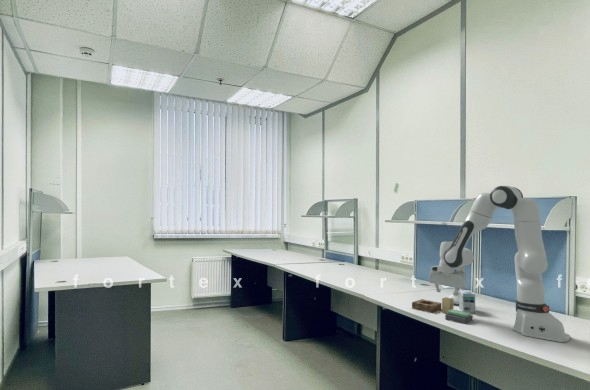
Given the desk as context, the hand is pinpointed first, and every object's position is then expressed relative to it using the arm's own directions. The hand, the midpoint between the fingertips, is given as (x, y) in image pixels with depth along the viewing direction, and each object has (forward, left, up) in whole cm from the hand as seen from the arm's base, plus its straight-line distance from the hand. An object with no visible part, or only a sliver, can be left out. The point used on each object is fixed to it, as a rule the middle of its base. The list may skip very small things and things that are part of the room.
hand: (446, 293), depth 210 cm
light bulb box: (-6, -14, -11) cm, 19 cm away
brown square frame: (+11, +1, -11) cm, 16 cm away
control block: (-11, +9, -11) cm, 17 cm away
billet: (-1, 0, -11) cm, 11 cm away
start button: (-11, +9, -9) cm, 17 cm away
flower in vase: (+5, -26, -11) cm, 29 cm away
